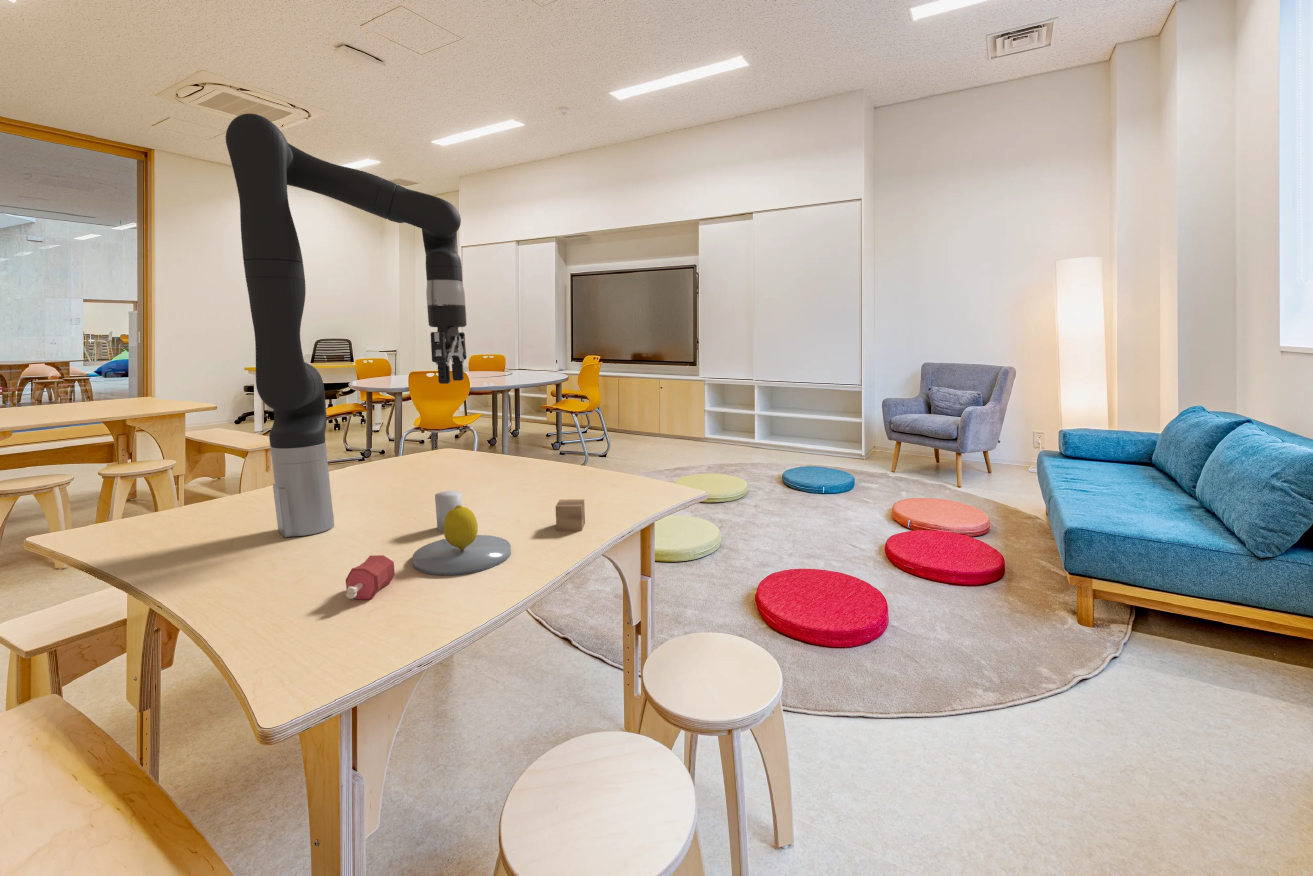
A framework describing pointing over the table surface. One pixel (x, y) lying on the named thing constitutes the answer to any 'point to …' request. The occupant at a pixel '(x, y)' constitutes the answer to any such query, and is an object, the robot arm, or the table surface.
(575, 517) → the walnut block
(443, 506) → the grey cylinder
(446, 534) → the lemon
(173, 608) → the table surface
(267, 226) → the robot arm
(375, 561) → the meat
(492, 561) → the slate dish
